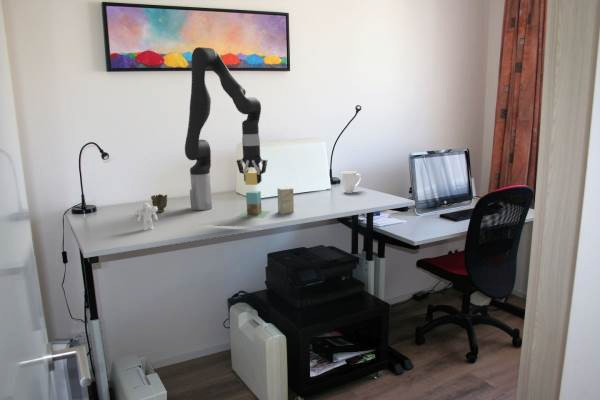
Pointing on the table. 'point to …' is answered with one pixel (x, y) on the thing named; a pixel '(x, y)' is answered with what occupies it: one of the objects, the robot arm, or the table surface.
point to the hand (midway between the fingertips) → (253, 182)
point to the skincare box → (285, 200)
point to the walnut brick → (254, 209)
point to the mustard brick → (251, 178)
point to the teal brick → (253, 197)
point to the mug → (349, 180)
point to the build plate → (254, 215)
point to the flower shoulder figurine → (147, 214)
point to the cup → (159, 202)
